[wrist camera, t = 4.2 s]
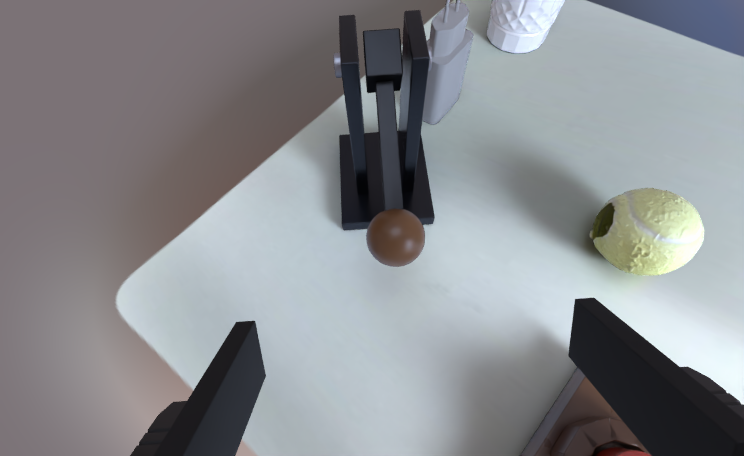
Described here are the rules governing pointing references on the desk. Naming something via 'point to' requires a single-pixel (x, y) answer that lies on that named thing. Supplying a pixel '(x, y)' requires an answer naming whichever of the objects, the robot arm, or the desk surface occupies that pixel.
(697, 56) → the desk surface
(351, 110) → the bracket
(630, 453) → the button
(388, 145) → the lever
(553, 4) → the white cup
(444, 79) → the power adapter
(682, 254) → the tennis ball
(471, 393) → the desk surface
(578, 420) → the button block
